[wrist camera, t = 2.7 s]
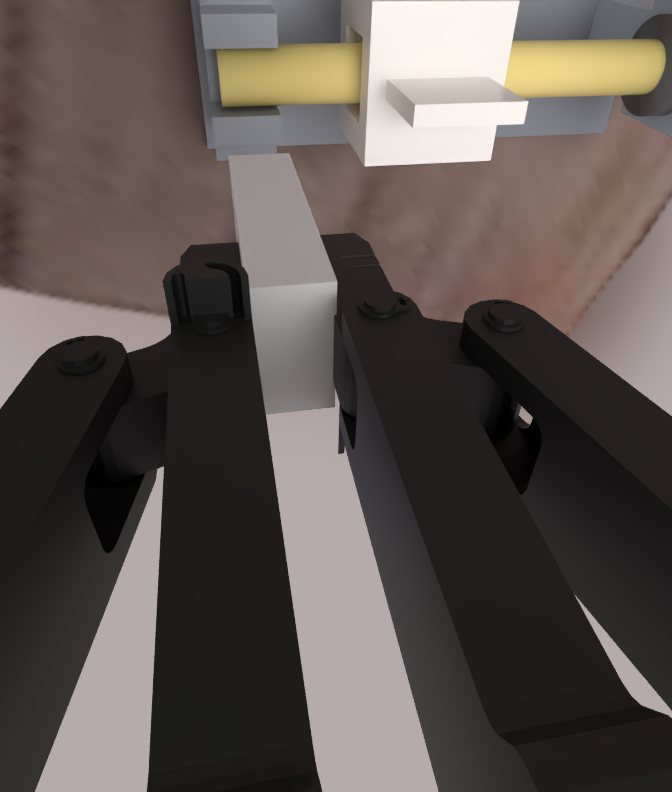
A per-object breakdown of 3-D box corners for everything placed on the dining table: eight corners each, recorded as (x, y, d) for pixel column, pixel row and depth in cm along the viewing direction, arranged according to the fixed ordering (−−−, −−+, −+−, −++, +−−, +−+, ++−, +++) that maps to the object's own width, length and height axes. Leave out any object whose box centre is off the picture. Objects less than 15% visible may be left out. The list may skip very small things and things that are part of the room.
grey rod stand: (207, 143, 36) (212, 223, 27) (180, -90, 29) (174, -84, 20) (596, 128, 40) (711, 194, 31) (656, -80, 33) (827, -72, 24)
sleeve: (338, 126, 31) (386, 200, 23) (341, -17, 27) (400, 16, 19) (447, 122, 32) (527, 192, 24) (465, -17, 28) (568, 15, 20)
